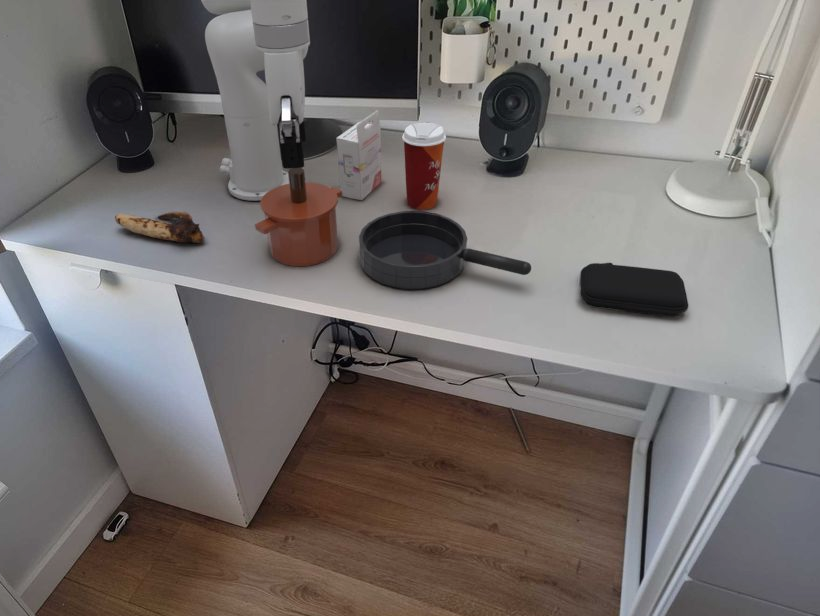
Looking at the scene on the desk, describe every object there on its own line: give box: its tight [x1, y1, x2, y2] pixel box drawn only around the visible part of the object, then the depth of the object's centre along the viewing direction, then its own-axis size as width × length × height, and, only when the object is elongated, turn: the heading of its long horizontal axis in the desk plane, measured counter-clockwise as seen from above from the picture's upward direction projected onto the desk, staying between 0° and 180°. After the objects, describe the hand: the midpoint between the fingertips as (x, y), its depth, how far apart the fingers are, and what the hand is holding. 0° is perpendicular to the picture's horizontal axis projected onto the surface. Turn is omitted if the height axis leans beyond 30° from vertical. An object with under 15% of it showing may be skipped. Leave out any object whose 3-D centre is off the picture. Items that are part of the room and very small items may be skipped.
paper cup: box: [401, 122, 447, 211], centre depth 116 cm, size 8×8×14 cm
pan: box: [358, 210, 468, 290], centre depth 105 cm, size 17×17×4 cm
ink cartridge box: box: [335, 109, 382, 201], centre depth 121 cm, size 9×5×15 cm, turn 150°
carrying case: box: [579, 262, 689, 317], centre depth 96 cm, size 11×3×15 cm
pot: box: [254, 186, 343, 267], centre depth 108 cm, size 12×17×8 cm
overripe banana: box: [114, 211, 205, 244], centre depth 115 cm, size 9×5×18 cm
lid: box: [259, 167, 339, 222], centre depth 103 cm, size 13×13×6 cm
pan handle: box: [462, 247, 532, 276], centre depth 98 cm, size 11×2×2 cm, turn 62°
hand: (294, 153), depth 99 cm, fingers open, 9 cm apart
